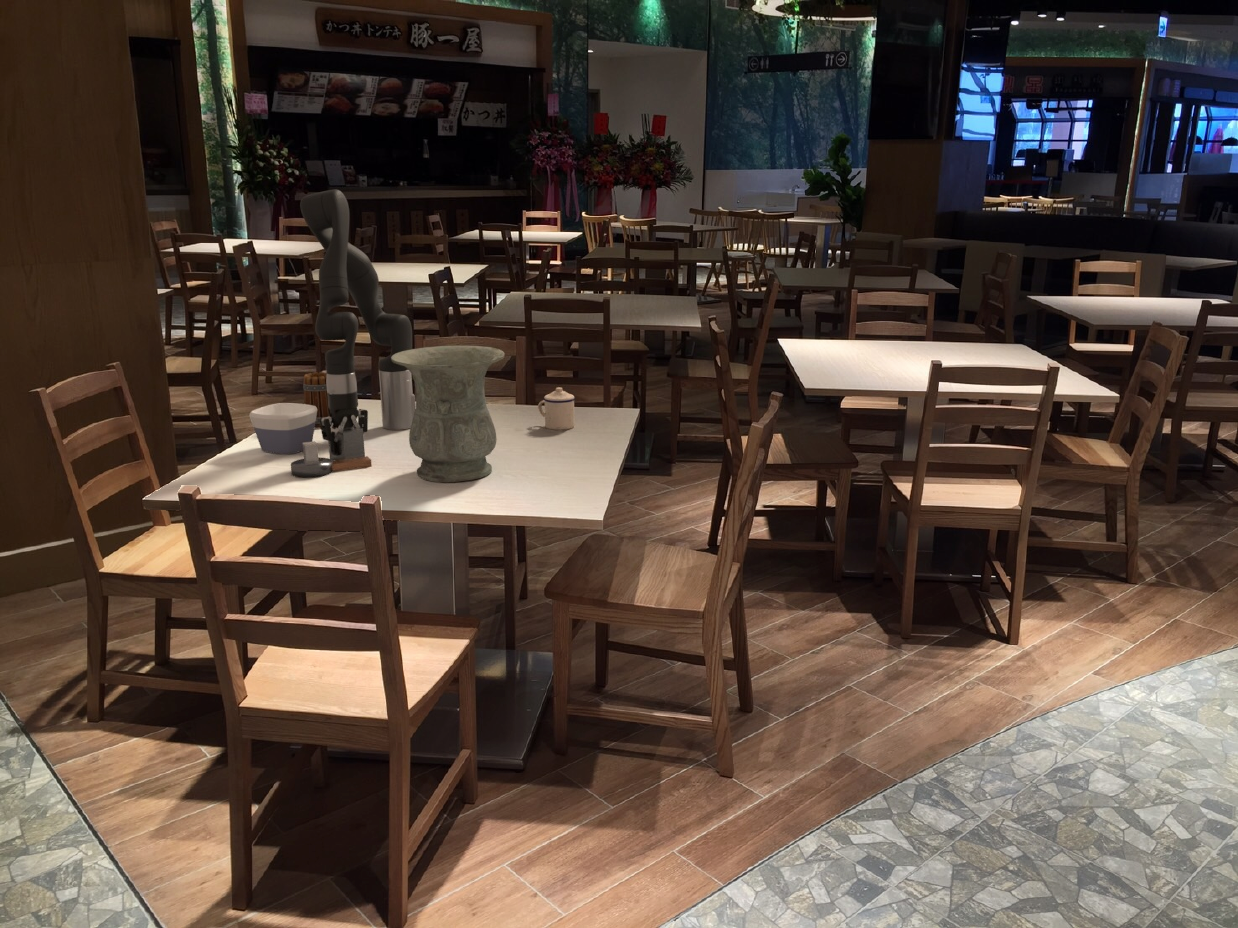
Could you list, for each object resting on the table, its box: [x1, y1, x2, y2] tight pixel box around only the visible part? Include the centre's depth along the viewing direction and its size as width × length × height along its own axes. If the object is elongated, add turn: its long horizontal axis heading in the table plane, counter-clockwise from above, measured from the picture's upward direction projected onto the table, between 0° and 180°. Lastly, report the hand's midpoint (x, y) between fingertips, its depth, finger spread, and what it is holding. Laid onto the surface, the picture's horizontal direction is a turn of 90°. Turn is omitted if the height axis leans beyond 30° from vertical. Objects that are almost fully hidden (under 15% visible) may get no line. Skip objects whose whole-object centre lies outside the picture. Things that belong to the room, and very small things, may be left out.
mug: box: [302, 370, 332, 429], centre depth 308 cm, size 16×11×15 cm
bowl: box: [249, 402, 317, 455], centre depth 278 cm, size 15×15×11 cm
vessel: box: [391, 345, 505, 483], centre depth 252 cm, size 27×27×30 cm
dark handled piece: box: [290, 440, 372, 479], centre depth 258 cm, size 20×10×8 cm, turn 118°
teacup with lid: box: [537, 387, 576, 431], centre depth 302 cm, size 12×9×12 cm
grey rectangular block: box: [327, 427, 366, 461], centre depth 269 cm, size 6×6×8 cm
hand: (346, 452), depth 269 cm, fingers closed on grey rectangular block, 6 cm apart
